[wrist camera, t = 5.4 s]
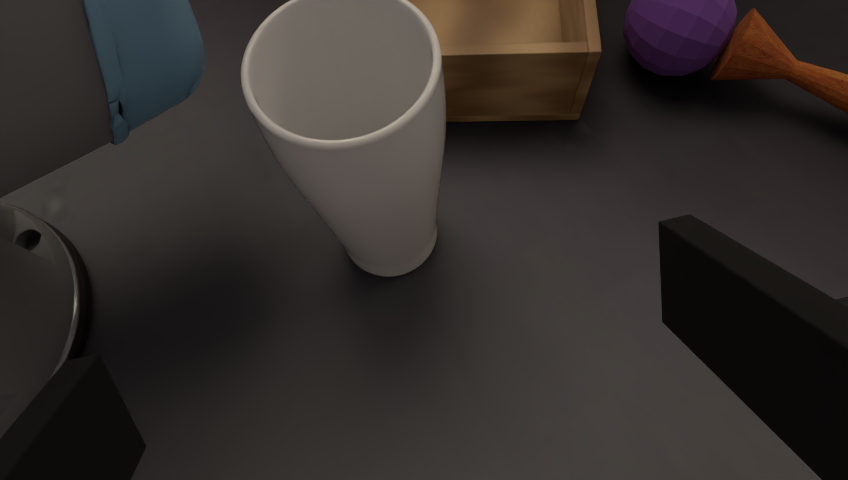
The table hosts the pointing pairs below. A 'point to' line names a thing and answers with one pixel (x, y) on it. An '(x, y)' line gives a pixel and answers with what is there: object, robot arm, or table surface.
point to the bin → (515, 57)
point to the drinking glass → (355, 120)
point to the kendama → (720, 46)
